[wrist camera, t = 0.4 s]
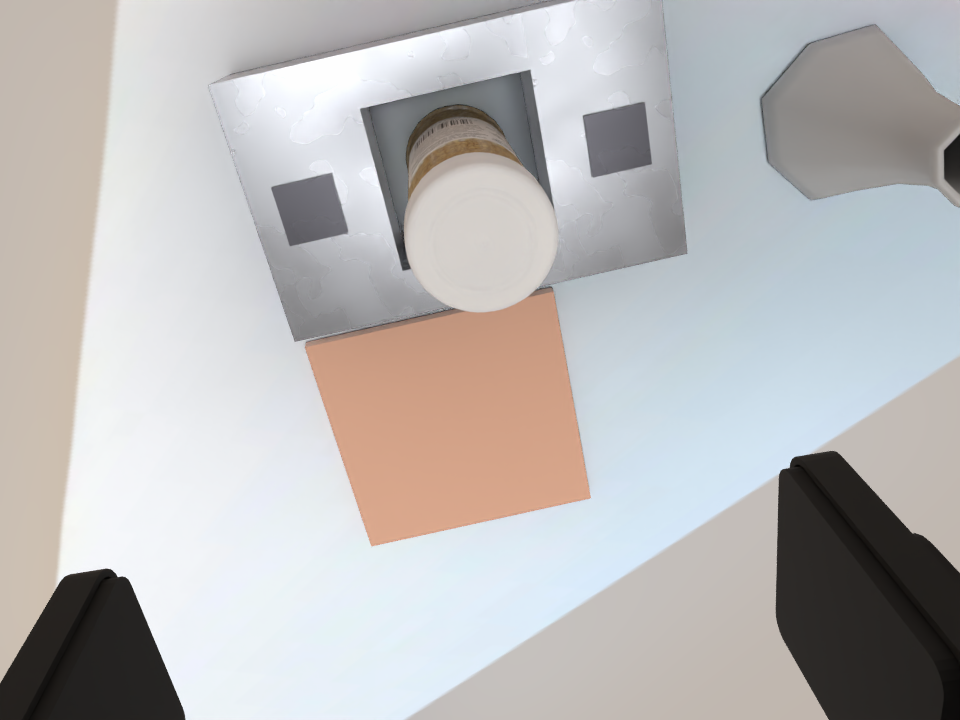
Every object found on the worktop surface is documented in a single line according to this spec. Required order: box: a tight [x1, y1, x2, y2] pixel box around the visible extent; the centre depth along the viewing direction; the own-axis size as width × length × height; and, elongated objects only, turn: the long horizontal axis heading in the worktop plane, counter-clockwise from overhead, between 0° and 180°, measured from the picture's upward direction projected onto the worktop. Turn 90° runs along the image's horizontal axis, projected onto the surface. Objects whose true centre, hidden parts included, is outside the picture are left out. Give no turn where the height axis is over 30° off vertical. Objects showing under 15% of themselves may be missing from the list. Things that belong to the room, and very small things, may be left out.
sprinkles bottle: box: [404, 105, 558, 313], centre depth 29 cm, size 5×5×13 cm
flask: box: [762, 24, 960, 207], centre depth 31 cm, size 7×7×10 cm
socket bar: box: [208, 0, 687, 342], centre depth 33 cm, size 17×11×4 cm, turn 102°
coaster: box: [305, 287, 591, 546], centre depth 41 cm, size 12×12×1 cm
